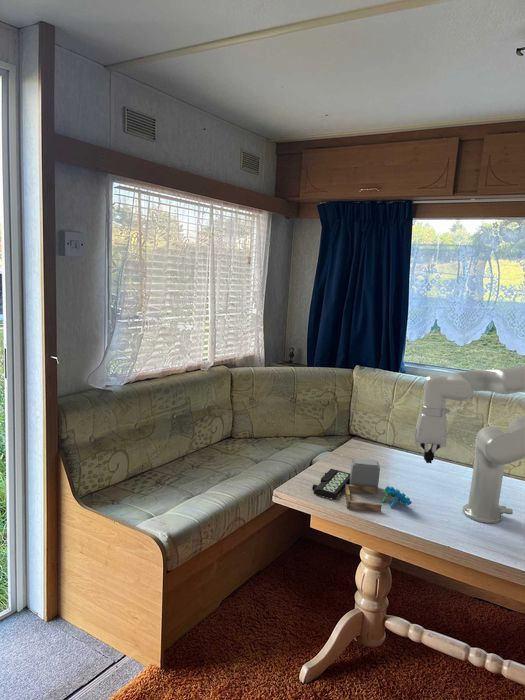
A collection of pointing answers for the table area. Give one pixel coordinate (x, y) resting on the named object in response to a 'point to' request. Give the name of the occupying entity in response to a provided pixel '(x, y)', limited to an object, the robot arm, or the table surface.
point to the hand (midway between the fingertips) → (428, 461)
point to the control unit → (364, 473)
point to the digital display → (332, 484)
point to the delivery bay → (361, 504)
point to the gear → (395, 496)
